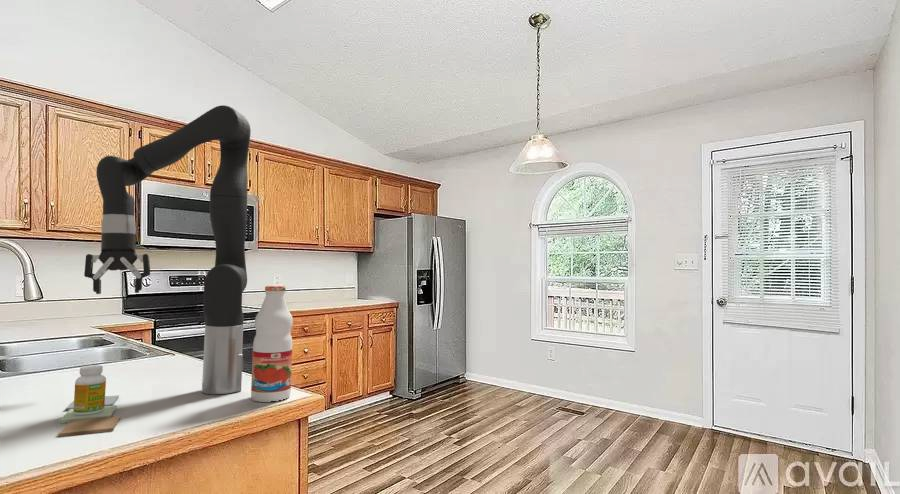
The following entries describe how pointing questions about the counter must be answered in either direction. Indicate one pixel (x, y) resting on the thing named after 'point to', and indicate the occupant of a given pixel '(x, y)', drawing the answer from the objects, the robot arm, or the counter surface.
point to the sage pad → (71, 416)
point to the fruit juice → (272, 348)
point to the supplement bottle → (89, 391)
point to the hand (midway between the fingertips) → (118, 293)
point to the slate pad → (108, 402)
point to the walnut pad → (90, 426)
